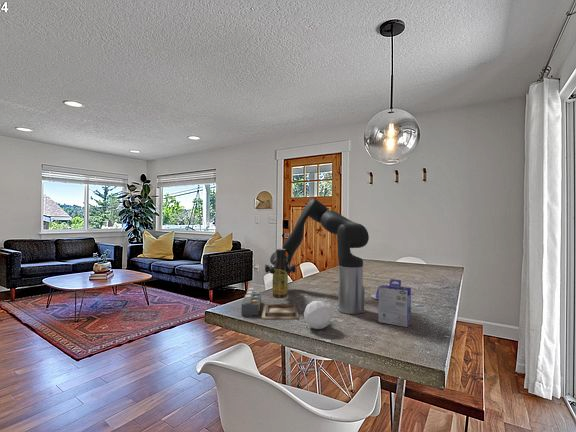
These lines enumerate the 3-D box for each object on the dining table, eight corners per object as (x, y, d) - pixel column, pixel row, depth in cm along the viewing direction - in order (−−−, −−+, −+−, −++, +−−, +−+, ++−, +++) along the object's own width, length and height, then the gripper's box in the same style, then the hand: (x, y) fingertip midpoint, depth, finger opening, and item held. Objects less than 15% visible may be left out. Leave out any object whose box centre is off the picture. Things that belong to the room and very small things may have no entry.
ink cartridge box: (411, 323, 107) (411, 280, 107) (408, 328, 102) (408, 283, 102) (382, 318, 112) (382, 277, 112) (377, 322, 107) (378, 280, 108)
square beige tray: (296, 307, 124) (296, 303, 124) (298, 319, 110) (298, 313, 110) (263, 307, 124) (263, 303, 124) (261, 319, 110) (261, 313, 110)
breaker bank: (261, 302, 132) (261, 287, 132) (258, 315, 114) (259, 297, 114) (246, 302, 132) (246, 287, 132) (241, 315, 114) (241, 297, 114)
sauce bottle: (269, 298, 128) (269, 249, 128) (276, 294, 134) (275, 248, 134) (284, 299, 126) (284, 250, 126) (290, 296, 132) (290, 248, 132)
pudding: (381, 294, 150) (381, 283, 150) (404, 299, 140) (404, 287, 140) (365, 297, 143) (365, 286, 143) (388, 303, 133) (388, 291, 133)
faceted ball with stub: (333, 329, 95) (336, 321, 107) (324, 298, 97) (329, 294, 109) (306, 335, 97) (312, 327, 108) (298, 305, 99) (305, 301, 110)
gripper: (264, 257, 144) (262, 262, 128) (296, 257, 145) (298, 262, 128) (264, 273, 144) (262, 280, 128) (296, 273, 145) (298, 280, 128)
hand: (280, 271), depth 128 cm, fingers closed on sauce bottle, 6 cm apart
